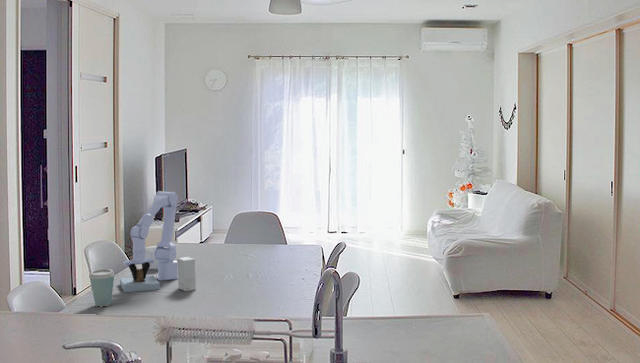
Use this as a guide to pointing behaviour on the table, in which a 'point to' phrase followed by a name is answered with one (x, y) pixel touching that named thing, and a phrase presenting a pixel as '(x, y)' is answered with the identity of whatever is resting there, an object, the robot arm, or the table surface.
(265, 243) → the table surface
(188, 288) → the skincare box
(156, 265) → the photo printer
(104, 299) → the disposable coffee cup
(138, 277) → the walnut peg
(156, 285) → the socket block
